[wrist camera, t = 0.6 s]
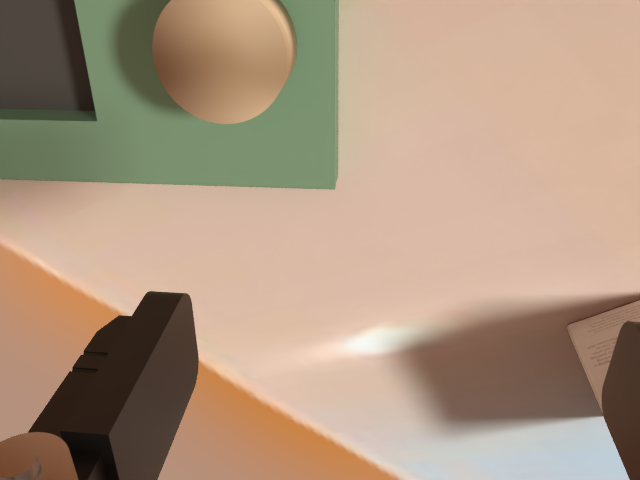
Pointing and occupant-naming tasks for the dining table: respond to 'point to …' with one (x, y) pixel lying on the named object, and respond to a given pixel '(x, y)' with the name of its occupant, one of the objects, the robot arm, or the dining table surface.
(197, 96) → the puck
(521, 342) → the dining table surface
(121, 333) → the robot arm
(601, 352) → the small box
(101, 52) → the green flat block
